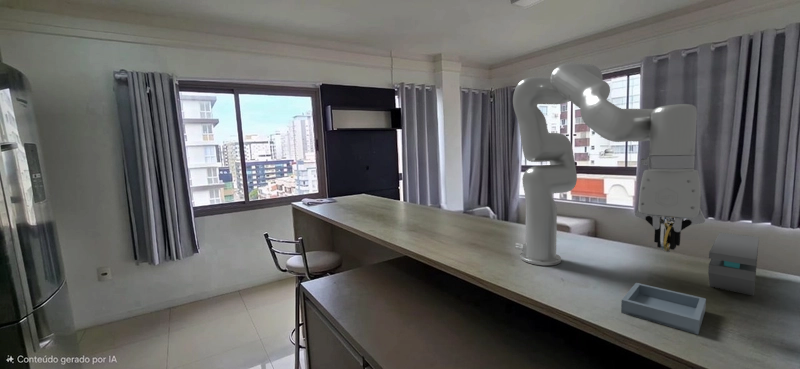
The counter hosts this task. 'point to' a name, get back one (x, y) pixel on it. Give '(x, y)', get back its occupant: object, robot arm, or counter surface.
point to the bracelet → (665, 240)
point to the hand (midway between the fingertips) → (666, 246)
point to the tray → (665, 307)
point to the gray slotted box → (734, 263)
